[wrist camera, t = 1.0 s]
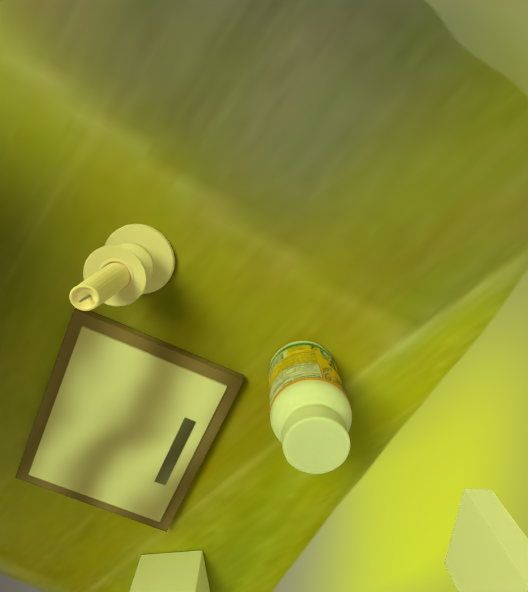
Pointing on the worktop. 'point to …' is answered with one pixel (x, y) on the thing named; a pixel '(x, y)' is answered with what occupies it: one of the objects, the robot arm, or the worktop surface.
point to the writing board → (126, 420)
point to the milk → (171, 573)
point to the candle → (125, 268)
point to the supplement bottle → (309, 407)
